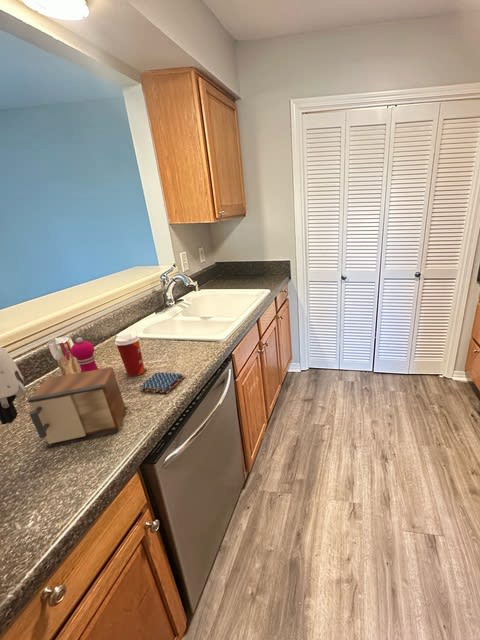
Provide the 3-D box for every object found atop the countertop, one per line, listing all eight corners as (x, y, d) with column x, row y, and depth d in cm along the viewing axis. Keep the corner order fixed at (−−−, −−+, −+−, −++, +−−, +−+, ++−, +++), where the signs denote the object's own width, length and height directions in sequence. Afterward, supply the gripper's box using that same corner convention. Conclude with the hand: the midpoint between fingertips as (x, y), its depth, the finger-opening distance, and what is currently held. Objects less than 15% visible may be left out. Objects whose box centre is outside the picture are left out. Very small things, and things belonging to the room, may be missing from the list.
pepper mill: (99, 401, 101) (79, 343, 93) (79, 399, 102) (57, 342, 94) (115, 388, 107) (97, 333, 99) (96, 387, 109) (77, 332, 101)
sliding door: (42, 454, 79) (22, 412, 74) (49, 442, 83) (31, 401, 78) (81, 446, 81) (64, 404, 76) (86, 434, 85) (70, 393, 80)
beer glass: (83, 371, 120) (70, 334, 114) (86, 378, 115) (73, 340, 109) (61, 378, 115) (46, 340, 110) (63, 385, 111) (48, 346, 105)
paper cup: (151, 371, 117) (142, 336, 112) (129, 380, 112) (119, 343, 106) (142, 365, 122) (132, 331, 117) (120, 373, 117) (110, 338, 111)
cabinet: (48, 447, 82) (27, 400, 77) (64, 420, 93) (46, 377, 87) (117, 432, 86) (102, 387, 81) (125, 408, 97) (112, 366, 91)
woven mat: (168, 394, 102) (167, 389, 102) (139, 392, 105) (137, 386, 104) (185, 377, 112) (184, 372, 111) (158, 375, 114) (156, 370, 113)
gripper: (-85, 363, 62) (-40, 439, 69) (7, 349, 66) (41, 422, 73) (-59, 347, 68) (-20, 418, 76) (24, 335, 72) (53, 404, 80)
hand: (10, 420), depth 74 cm, fingers closed
